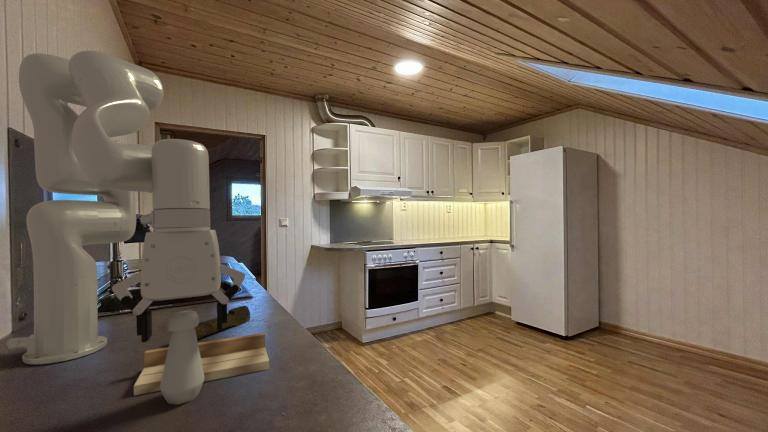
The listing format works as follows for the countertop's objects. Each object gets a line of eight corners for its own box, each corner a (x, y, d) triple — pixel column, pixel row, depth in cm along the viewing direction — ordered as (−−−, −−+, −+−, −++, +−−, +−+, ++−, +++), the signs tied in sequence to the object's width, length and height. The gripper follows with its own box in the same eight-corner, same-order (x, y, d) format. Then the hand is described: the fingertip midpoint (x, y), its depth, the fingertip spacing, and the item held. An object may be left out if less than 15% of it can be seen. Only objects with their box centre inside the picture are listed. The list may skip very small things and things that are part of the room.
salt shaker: (157, 412, 46) (156, 320, 46) (162, 393, 51) (162, 310, 51) (204, 401, 49) (203, 314, 49) (205, 384, 54) (204, 305, 54)
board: (133, 395, 51) (133, 369, 51) (148, 369, 60) (148, 347, 60) (269, 368, 59) (268, 346, 59) (263, 349, 68) (263, 330, 68)
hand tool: (186, 348, 70) (186, 326, 70) (175, 344, 72) (175, 323, 72) (257, 322, 87) (257, 305, 87) (246, 320, 89) (246, 303, 89)
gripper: (102, 223, 43) (105, 353, 43) (244, 219, 51) (247, 330, 50) (119, 224, 50) (122, 336, 50) (242, 220, 57) (245, 318, 57)
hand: (185, 333), depth 50 cm, fingers open, 9 cm apart
